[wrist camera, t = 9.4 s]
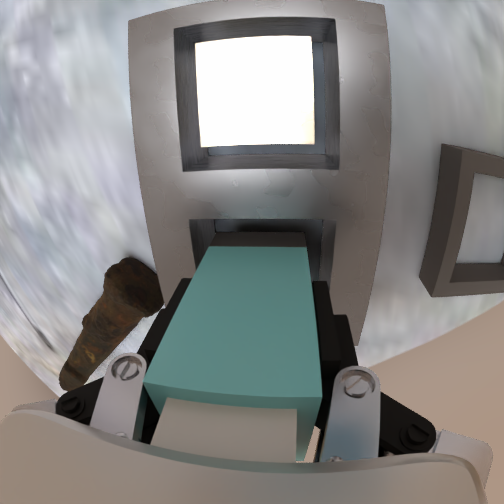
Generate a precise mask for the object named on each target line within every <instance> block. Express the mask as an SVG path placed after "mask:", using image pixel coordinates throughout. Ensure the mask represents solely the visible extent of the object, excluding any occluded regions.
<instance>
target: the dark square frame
mask: <svg viewBox="0 0 504 504" xmlns="http://www.w3.org/2000/svg"><path fill="white" fill-rule="evenodd" d="M474 172H476V173H481V174H486V175H491V176H495V177H500V178H504V158H502V157H499V156H495V155H491V154H487V153H484V152H479V151H475V150H471V149H466V148H462V147H457V146H452V145H447V144H442V148H441V160H440V170H439V179H438V186H437V194H436V200H435V207H434V212H433V218H432V223H431V229H430V234H429V238H428V243H427V247H426V252H425V256H424V260H423V264H422V268H421V272H420V276H419V278H420V280H421V281H422V283H423V284H424V286H425V288H426V289H427V291H428V292H429V294H430V296H431V297H448V296H465V295H479V294H491V293H503V292H504V255H503V258H502V261H501V264H455V263H456V259H457V256H458V252H459V249H460V245H461V241H462V237H463V233H464V228H465V224H466V219H467V214H468V209H469V204H470V198H471V192H472V186H473V179H474Z"/></svg>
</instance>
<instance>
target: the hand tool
mask: <svg viewBox="0 0 504 504" xmlns="http://www.w3.org/2000/svg"><path fill="white" fill-rule="evenodd" d="M103 288H104V292H103V294H102V296H101V297H100V299H99V300H98V301H97V302H96V304H95V305H94V306H93V307H92V308H91V310H90V311H89V313H88V314H87V315H85V316H84V318H83V321H82V325H83V330H82V332H81V334H80V336H79V337H78V339H77V341H76V344H75V346H74V348H73V350H72V351H71V353H70V355H69V357H68V359H67V361H66V362H65V364H64V366H63V367H62V370H61V372H60V377H59V381H60V382H59V384H60V386H61V388H62V389H63V390H66V391H68V392H69V391H71V390H74V389H76V388H78V387H81V386H83V385H84V384H85V383H86V382H87V380H88V378H89V376H90V375H91V374H92V373H93V372H94V371H95V369H96V368H97V367H98V366H99V365H100V364H101V363H102V362H103V361H104V360H105V359H106V358H107V357H108V356H109V355H110V354H111V353H112V351H113V350H114V349H115V348H116V347H117V346H118V345H119V344H120V343H121V342H122V341H123V340H124V338H125V337H126V336H127V335H128V334H129V333H130V332H131V331H132V330H133V329H134V328H135V327H136V326H137V324H138V323H139V321H140V320H141V319H142V318H143V317H149V316H152V315H153V314H155V313H156V312H158V311H160V309H161V308H162V306H163V305H164V299H163V295H162V291H161V287H160V283H159V279H158V276H157V275H156V274H155V273H154V272H153V271H152V270H151V269H150V268H148V267H147V266H146V265H144V264H143V263H141V262H139V261H138V260H136V259H133V258H124V259H122V260H121V261H120V262H119V263H117V264H114V265H112V266H111V267H110V268H109V269H108V270H107V272H106V273H105V279H104V285H103Z"/></svg>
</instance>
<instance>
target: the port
mask: <svg viewBox="0 0 504 504" xmlns="http://www.w3.org/2000/svg"><path fill="white" fill-rule="evenodd" d="M311 42H323V57H324V79H325V122H326V145H325V155H323V154H241V155H219V156H208V146H224V145H246V144H314V86H313V63H312V45H311ZM128 58H129V84H130V100H131V113H132V124H133V134H134V143H135V152H136V160H137V167H138V175H139V181H140V188H141V194H142V200H143V206H144V212H145V217H146V223H147V228H148V233H149V238H150V243H151V248H152V253H153V257H154V262H155V266H156V271H157V275H158V279H159V283H160V287H161V291H162V295H163V299H164V303H165V307H166V306H167V304H168V302H169V301H170V299H171V297H172V295H173V293H174V291H175V290H176V288H177V286H178V284H179V282H180V281H181V279H182V278H193V276H194V274H195V272H196V270H197V268H198V266H199V264H200V263H201V261H202V259H203V257H204V255H205V253H206V251H207V249H208V247H209V245H210V243H211V242H212V240H213V238H214V236H215V226H214V219H323V230H322V245H321V259H320V271H319V281H327V284H328V289H329V294H330V299H331V304H332V309H333V314H334V315H337V314H346V315H347V317H348V321H349V325H350V329H351V334H352V338H353V342H354V346H358V343H359V339H360V336H361V332H362V328H363V324H364V320H365V316H366V312H367V308H368V303H369V299H370V294H371V290H372V285H373V280H374V275H375V270H376V265H377V259H378V253H379V247H380V241H381V235H382V228H383V221H384V213H385V205H386V196H387V186H388V174H389V161H390V143H391V71H390V54H389V42H388V32H387V23H386V15H385V8H384V5H381V4H376V3H370V2H364V1H358V0H215V1H208V2H202V3H196V4H191V5H186V6H181V7H177V8H172V9H168V10H164V11H160V12H156V13H152V14H149V15H145V16H142V17H139V18H135V19H132V20H129V21H128Z"/></svg>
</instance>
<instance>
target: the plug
mask: <svg viewBox="0 0 504 504" xmlns="http://www.w3.org/2000/svg"><path fill="white" fill-rule="evenodd" d="M142 382H143V384H144V386H145V388H146V390H147V392H148V394H149V396H150V398H151V400H152V401H153V403H154V405H155V407H156V409H157V411H158V412H159V414H160V418H159V421H158V424H157V427H156V430H155V432H154V435H153V438H152V441H151V444H150V445H153V446H157V447H161V448H166V449H170V450H175V451H180V452H185V453H191V454H197V455H203V456H209V457H216V458H224V459H233V460H244V461H257V462H276V463H296V461H304V458H305V455H306V452H307V449H308V446H309V442H310V439H311V436H312V432H313V429H314V426H315V422H316V419H317V415H318V411H319V408H320V404H321V400H322V384H321V371H320V359H319V348H318V338H317V328H316V318H315V309H314V300H313V292H312V284H311V276H310V268H309V261H308V254H307V247H306V240H305V233H304V232H216V234H215V236H214V238H213V240H212V242H211V243H210V245H209V247H208V249H207V251H206V253H205V255H204V257H203V259H202V261H201V263H200V264H199V266H198V268H197V270H196V272H195V274H194V276H193V278H192V280H191V282H190V284H189V286H188V288H187V290H186V292H185V294H184V296H183V298H182V300H181V302H180V304H179V306H178V308H177V310H176V312H175V314H174V316H173V318H172V320H171V322H170V324H169V326H168V328H167V330H166V332H165V334H164V336H163V338H162V341H161V343H160V345H159V347H158V349H157V351H156V353H155V355H154V357H153V360H152V362H151V364H150V366H149V368H148V370H147V372H146V375H145V377H144V379H143V381H142Z"/></svg>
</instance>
